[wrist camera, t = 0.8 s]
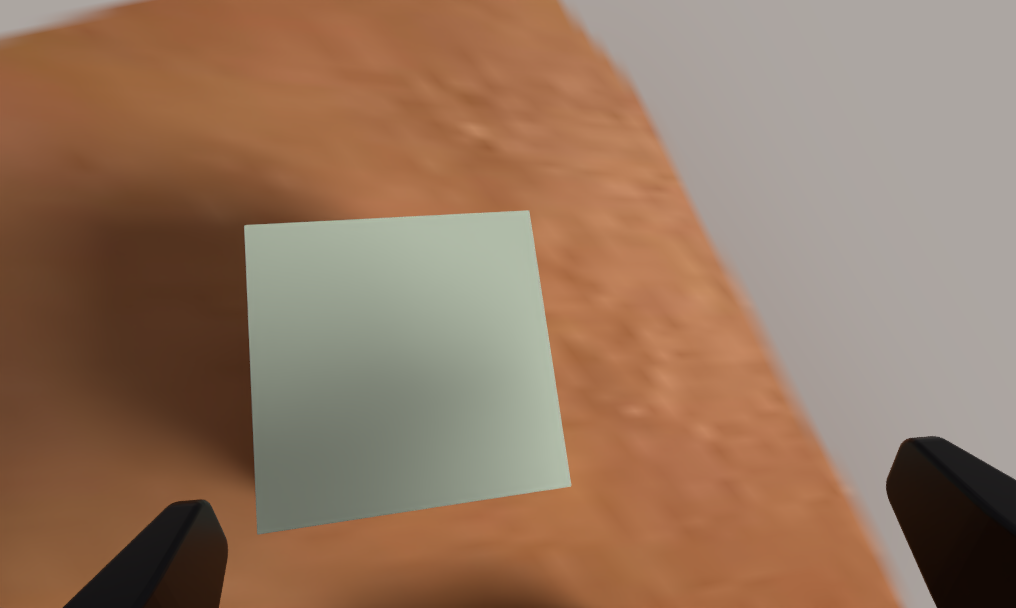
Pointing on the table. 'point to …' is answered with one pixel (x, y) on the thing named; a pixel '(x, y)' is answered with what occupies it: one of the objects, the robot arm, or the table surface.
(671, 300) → the table surface
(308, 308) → the tower top
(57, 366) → the table surface
